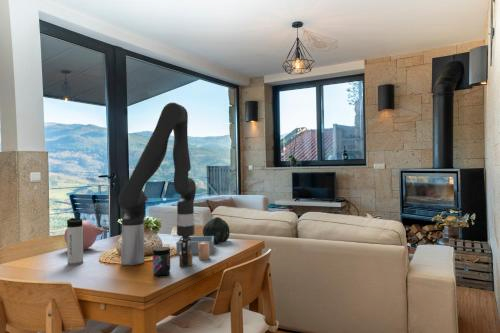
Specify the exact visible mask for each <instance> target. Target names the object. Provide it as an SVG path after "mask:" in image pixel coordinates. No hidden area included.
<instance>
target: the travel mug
mask: <svg viewBox="0 0 500 333" xmlns="http://www.w3.org/2000/svg"><path fill="white" fill-rule="evenodd" d="M82 220H83V219H82V218H75V217H72V218H68V219H67V220H66V224H67V226H66V229H67V244H66V246H67V249H66V250H67V265H68V266H79V265H82V264H83V263H84V250H83V226H82Z"/></svg>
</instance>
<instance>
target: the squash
mask: <svg viewBox="0 0 500 333" xmlns="http://www.w3.org/2000/svg"><path fill="white" fill-rule="evenodd" d="M230 234H231V232H230V226H229V225H228V223H227V222H226V221H225V220H224V219H223V218H221V217H219V216H217V217H214V218H212V219H210V220H209V221H208V222H206V223H205V224H204V226H203V229H202V236H214V244H219V243H220V244H221V243H224V242H227V241H228V239H229V237H230Z"/></svg>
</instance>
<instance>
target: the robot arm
mask: <svg viewBox="0 0 500 333" xmlns="http://www.w3.org/2000/svg"><path fill="white" fill-rule="evenodd" d="M188 114H189V113H188V111H187V109H186V107H185V106H183V105H181V104H179V103H176V102H168V103H167V104H165V105H164V107H163V108H162V110H161V112H160V115H159V118H158V120H157V123H156V126H155V128H154V130H153V132H152V133H151V136H150V138H149V139H148V141H147V143H146V145H145V147H144V149H143V151H142V153H141V155H140V157H139V159H138V161H137V163H136V165H135V167H134V169H133V171H132V173H131V175H130V177H129V179H128V180H127V181H126V183H125V184H124V186H123V188H122V190H120V192H119V195H118V198H117V200H118V201H117V202H118V205H119V207H120V208H121V209H123V210H125V214H124V216H123V217H122V218H121V242H120V265H124V266H135V265H136V266H137V265H140V264H143V263H144V262H145V232H144V230H145V228H144V227H145V226H144V225H145V223H144V222H145V221H144V220H145V217H146V195H145V192H144V191H143V190H144V187H145V185H146V184H147V183H148V181H149V180H150V179H151V178H152V177H153V176H154V174H155V173H156V172H157V171H158V170H159V169H160V167H161V165H162V163H163V161H164V159H165V158H166V154H167V151H168V145H169V139H170V136H171V135H172V133H173V148H172V159H173V166H174V173H173V187H174V190H175V192H176V193H177V194H178V195H180V198H179V200H178V201H177V205H176V211H177V213H176V214H177V215H176V235H177V236H178V237H182V240H181V253H182V254H181V255H182V256H183V265H188V251H190V247H191V244H190V243H191V239H190V237H193V236H194V235H195V234H196V233H195V213H194V212H195V210H194V207H195V206H194V205H195V204H194V202H195V199H196V198H195V197H196V192H197V187H196V182H195V180H194V179H193V178H192V177H191V178H190V177H189V172H190V171H191V169H192V166H191V158H190V151H189V143H188V142H189V141H188V140H189V139H188V124H189V117H188V116H189V115H188ZM184 251H186V253H184Z"/></svg>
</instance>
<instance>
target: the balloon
mask: <svg viewBox="0 0 500 333" xmlns="http://www.w3.org/2000/svg"><path fill="white" fill-rule="evenodd" d="M82 226H83V251H84V250H87V249H89V248H91V247H92V246H94V243H95V242H96V240H97V238H98V236H100V235H103V233H106V232H107V230H106V228H105V229H104V228H103V227H102V226H101V227H98V226H96V225H94V224H93V223H92V222H90V221H89V220H85V219H82ZM64 241H65V244H66V245H67V228H66V229H65V232H64Z"/></svg>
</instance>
